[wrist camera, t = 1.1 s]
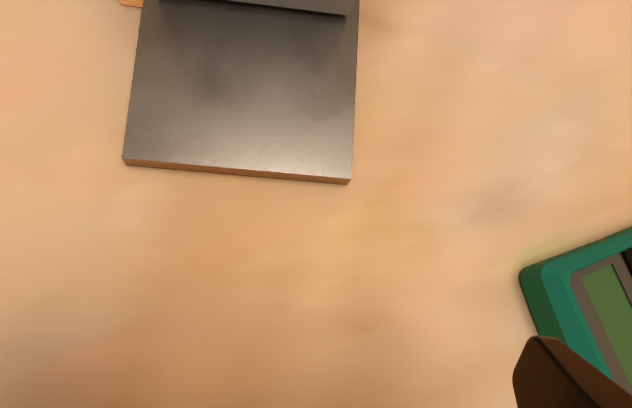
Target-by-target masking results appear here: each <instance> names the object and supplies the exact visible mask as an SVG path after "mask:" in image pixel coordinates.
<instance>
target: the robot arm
mask: <svg viewBox="0 0 632 408" xmlns="http://www.w3.org/2000/svg"><path fill="white" fill-rule="evenodd" d="M512 381H513V388H514V393H515V397H516V402H517V406H518V408H632V395H631V394H629V393H628V392H627V391H625V390H624V389H623V388H622V387H620V386H619V385H618V384H616V383H615V382H614V381H612V380H611V379H610V378H608V377H607V376H606V375H605V374H603V373H602V372H601V371H599V370H598V369H597V368H595V367H594V366H593V365H591V364H590V363H589V362H587V361H586V360H585V359H584V358H582V357H581V356H580V355H578V354H577V353H576V352H574V351H573V350H572V349H570V348H569V347H568V346H567V345H565V344H564V343H563V342H561V341H560V340H558V339H557V338H554V337H545V336H532V337H530V338H529V339H528V341H527V342H526V344H525V347H524V349H523V351H522V353H521V355H520V358H519V360H518V362H517V364H516V366H515V369H514V372H513V378H512Z"/></svg>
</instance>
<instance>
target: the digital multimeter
mask: <svg viewBox="0 0 632 408" xmlns="http://www.w3.org/2000/svg"><path fill="white" fill-rule="evenodd" d="M520 281H521V285H522V288H523V291H524V294H525V297H526V300H527V302H528V305H529V308H530V311H531V314H532V317H533V319H534V322H535V324H536V327H537V330H538V332H539V335H540V336H545V337H554V338H557V339H558V340H560V341H561V342H563V343H564V344H565V345H567V346H568V347H569V348H570V349H572V350H573V351H574V352H576V353H577V354H578V355H580V356H581V357H582V358H584V359H585V360H586V361H587V362H589V363H590V364H591V365H593V366H594V367H595V368H597V369H598V370H599V371H601V372H602V373H603V374H605V375H606V376H607V377H608V378H610V379H611V380H612V381H614V382H615V383H616V384H618V385H619V386H620V387H622V388H623V389H624V390H625V391H627V392H628V393H629V394H631V395H632V227H630V228H627V229H625V230H623V231H620V232H618V233H615V234H613V235H610V236H608V237H606V238H603V239H600V240H598V241H595V242H592V243H590V244H587V245H584V246H582V247H579V248H576V249H574V250H571V251H568V252H566V253H563V254H560V255H558V256H555V257H552V258H549V259H547V260H544V261H541V262H539V263H536V264H533V265H531V266H528V267H526V268H525V269H523V270H522V271H521V274H520Z"/></svg>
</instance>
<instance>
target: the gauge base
mask: <svg viewBox="0 0 632 408" xmlns="http://www.w3.org/2000/svg"><path fill="white" fill-rule="evenodd" d="M120 3H121V5H127V6H135V7H142V14H141V21H140V28H139V36H138V43H137V51H136V58H135V66H134V73H133V80H132V88H131V95H130V103H129V110H128V117H127V125H126V132H125V140H124V147H123V155H122V159H123V160H124V162H125V163H126V164H127V165H131V166H142V167H153V168H164V169H176V170H187V171H198V172H209V173H221V174H232V175H243V176H254V177H266V178H277V179H288V180H299V181H311V182H322V183H333V184H344V185H347V184H348V183H349V182H350V180H351V179H352V159H353V136H354V114H355V91H356V68H357V45H358V22H359V0H354V3H353V6H352V9H351V11H350V14H349V15H341V14H333V13H325V12H317V11H309V10H301V9H294V8H286V7H278V6H270V5H262V4H254V3H246V2H238V1H231V0H120Z"/></svg>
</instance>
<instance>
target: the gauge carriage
mask: <svg viewBox="0 0 632 408" xmlns="http://www.w3.org/2000/svg"><path fill="white" fill-rule="evenodd" d="M231 1H238V2H246V3H254V4H262V5H270V6H278V7H286V8H294V9H301V10H309V11H317V12H325V13H333V14H341V15H349V14H350V11H351V9H352V6H353V3H354V0H231Z"/></svg>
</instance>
